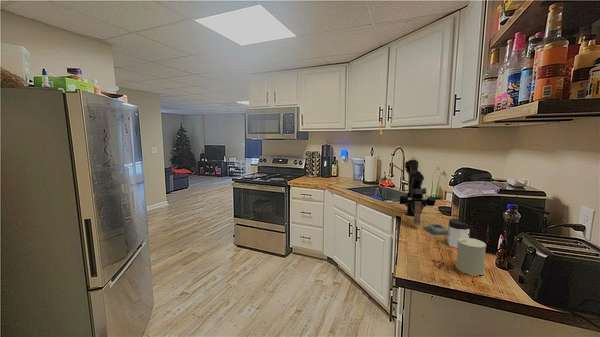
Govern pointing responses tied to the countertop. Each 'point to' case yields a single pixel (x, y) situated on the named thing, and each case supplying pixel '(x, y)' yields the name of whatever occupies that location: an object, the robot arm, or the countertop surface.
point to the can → (470, 256)
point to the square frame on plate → (436, 229)
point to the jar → (456, 232)
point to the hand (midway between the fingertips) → (417, 213)
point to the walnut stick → (417, 212)
